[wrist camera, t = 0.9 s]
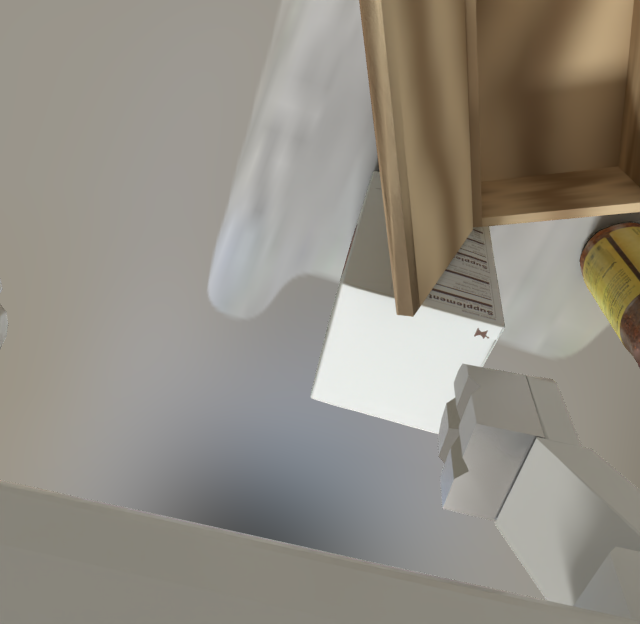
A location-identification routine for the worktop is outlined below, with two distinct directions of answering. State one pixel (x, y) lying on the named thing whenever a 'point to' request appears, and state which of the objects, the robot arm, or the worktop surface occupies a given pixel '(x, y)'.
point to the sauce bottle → (616, 279)
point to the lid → (420, 136)
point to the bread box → (553, 109)
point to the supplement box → (406, 328)
